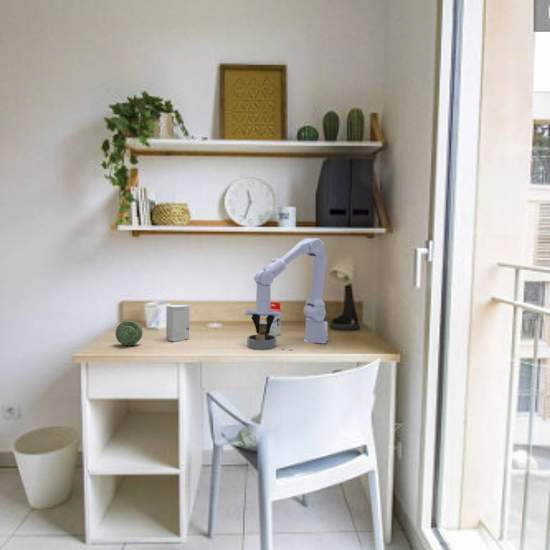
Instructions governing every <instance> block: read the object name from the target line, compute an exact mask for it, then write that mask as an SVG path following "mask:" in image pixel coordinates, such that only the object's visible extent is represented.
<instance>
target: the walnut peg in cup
mask: <svg viewBox="0 0 550 550" xmlns="http://www.w3.org/2000/svg"><path fill="white" fill-rule="evenodd" d="M256 334H257V335H256ZM256 334H255V335H256V340H259V341H265V335H264V334H259V333H256Z"/></svg>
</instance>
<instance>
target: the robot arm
mask: <svg viewBox="0 0 550 550" xmlns="http://www.w3.org/2000/svg"><path fill="white" fill-rule="evenodd" d="M325 248H326V244H325V243H324V242H323V240H322V239H321V238H318V237H315V238H311V237H310V238H309V237H305V238H303V239H302V240H301V241H299V242H298V243H297V244H296V245H295V246H293V248H291V249H290V250H289V251H288V252H287V253H286V254H285V255H283V256H282V257H281V258H273V259H272V260H271V262H270V263H269V264H268V265H267V266H264V267H263V268H262V269H260V270H258V271H257V272H256V273H255V275H254V277H253V278H254V282H255V283H256V290H255V291H256V292H255V293H256V296H255V297H256V298H255V300H256V303H255V305H256V306H255V307H256V309H245V314H244V315H245V316H251V320H252V322H253V324H254V327H255V332H256V334H259V324H260V316H268V317H266V320H267V334H269V333H270V328H271V325H272V322H273V320H274V318H275V316H277V317H282V310H281V311H272V310H270V306H271V304H270V302H271V296H272V295H271V294H272V293H271V287H272V285H271V284H273V281H274V279H275V278H276V277H278V276H279V275H280V274H282V273H283V272H284V271H285V270H286V269H287V265H288V264H290V263H291V262H292V261H294V260H295V259H297V258H298V257H299V256H301V255H305V254H306V255H308V256H309V257H310V258H311V259H312V260H313V266H312V267H313V268H312V275H311V283H310V291H309V297H308V298H307V299H306V301H305V305H304V307H303V310H302V312H303V315H304V316H305V336H304V339H303V342H307V343H314V344H327V341H328V336H329V334H328V321H325V318H326V314H327V312H326V307H325V306H326V304H325V302H324V300H323V294H324V288H325V287H324V286H325V280H326V279H325V278H326V271H327V264H328V254H327V252H326V249H325Z"/></svg>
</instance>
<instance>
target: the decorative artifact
mask: <svg viewBox="0 0 550 550" xmlns="http://www.w3.org/2000/svg"><path fill="white" fill-rule="evenodd" d="M115 329H116V330H115V338H116V340H117V342H118V343H120V344H121V345H123V346H125V345H132V346H135V345H136V344H137V343H138V342H139V341H140V340H141V339H142V338H143V329H142V326H141V325H140V323H138V322H137V321H135V320H131V319H128V320H125V321H123V322H121V323H120V324H118V326H117V327H116V328H115Z"/></svg>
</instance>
